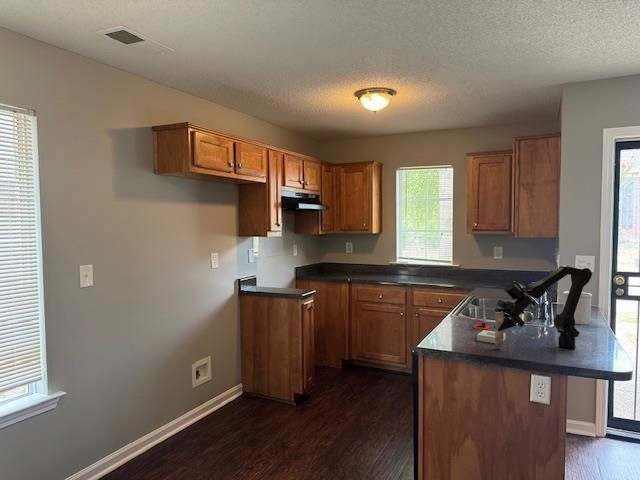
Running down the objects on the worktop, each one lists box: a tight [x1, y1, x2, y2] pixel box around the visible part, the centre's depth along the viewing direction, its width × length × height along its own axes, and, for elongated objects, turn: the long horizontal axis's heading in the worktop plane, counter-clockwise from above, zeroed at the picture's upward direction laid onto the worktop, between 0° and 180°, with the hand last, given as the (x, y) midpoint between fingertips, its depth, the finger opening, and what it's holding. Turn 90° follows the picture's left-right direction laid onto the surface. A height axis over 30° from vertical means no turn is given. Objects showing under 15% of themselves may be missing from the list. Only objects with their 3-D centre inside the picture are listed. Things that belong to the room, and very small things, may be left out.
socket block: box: [476, 330, 507, 344], centre depth 220 cm, size 11×11×3 cm
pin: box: [494, 312, 505, 348], centre depth 204 cm, size 4×4×16 cm
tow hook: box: [472, 304, 491, 331], centre depth 244 cm, size 8×13×9 cm
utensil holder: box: [562, 290, 593, 325], centre depth 259 cm, size 15×15×18 cm
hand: (496, 329), depth 204 cm, fingers closed on pin, 4 cm apart
